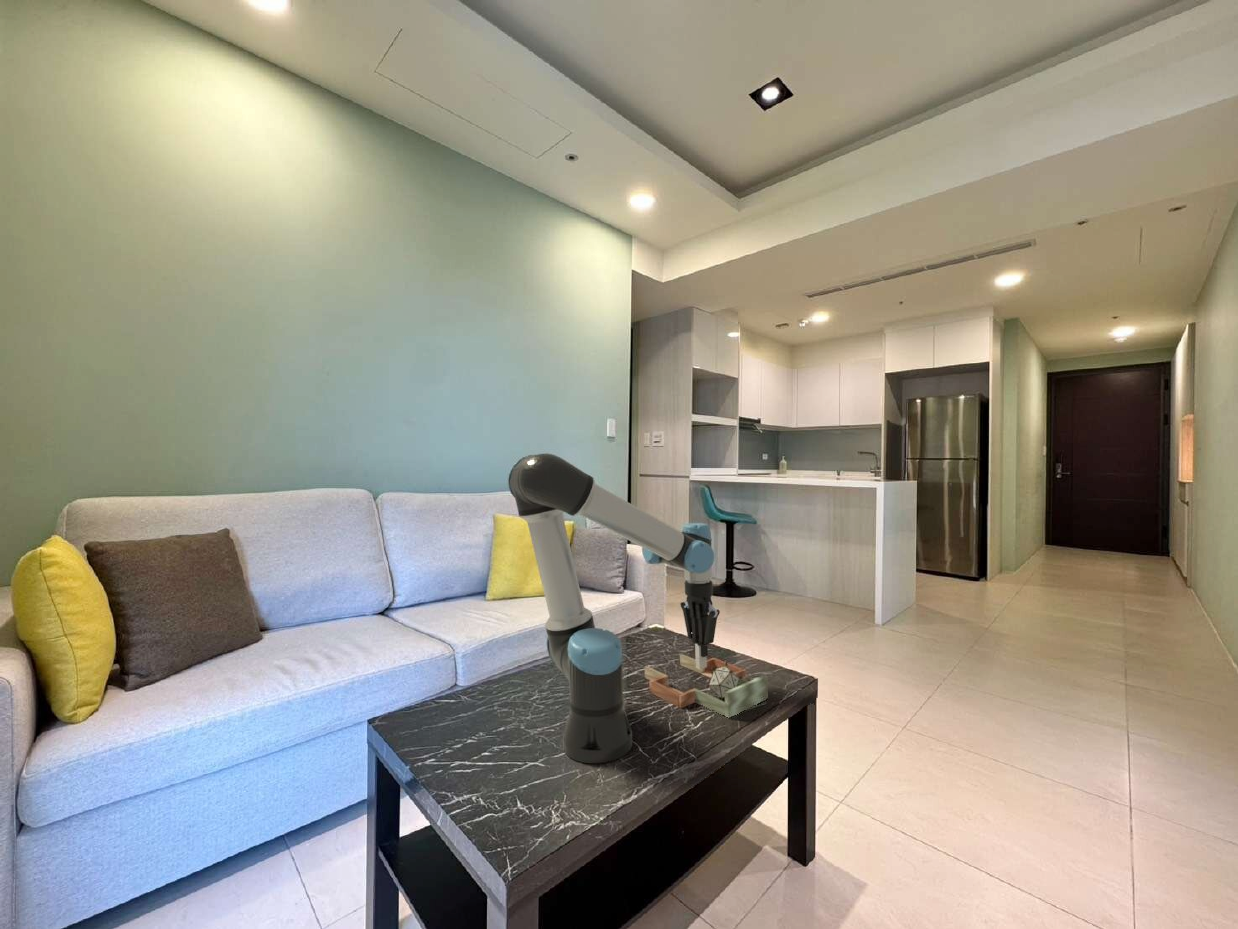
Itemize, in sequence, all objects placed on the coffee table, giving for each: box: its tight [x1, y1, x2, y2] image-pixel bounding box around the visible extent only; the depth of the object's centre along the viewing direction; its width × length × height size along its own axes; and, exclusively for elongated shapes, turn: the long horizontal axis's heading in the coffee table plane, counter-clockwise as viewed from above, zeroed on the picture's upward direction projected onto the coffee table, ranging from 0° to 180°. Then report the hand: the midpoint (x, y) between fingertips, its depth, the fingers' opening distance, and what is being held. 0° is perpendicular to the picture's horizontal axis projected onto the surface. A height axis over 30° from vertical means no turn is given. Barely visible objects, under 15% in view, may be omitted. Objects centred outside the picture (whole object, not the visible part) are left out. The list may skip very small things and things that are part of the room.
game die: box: [705, 662, 743, 701], centre depth 129 cm, size 9×8×10 cm
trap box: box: [644, 654, 769, 719], centre depth 135 cm, size 25×31×6 cm
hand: (701, 667), depth 135 cm, fingers closed
